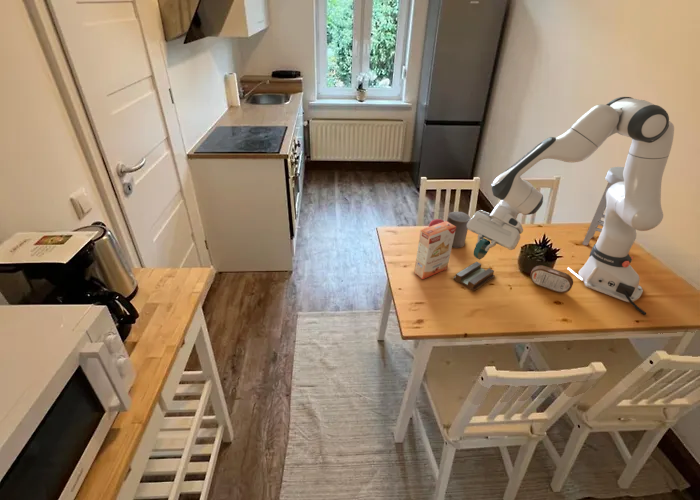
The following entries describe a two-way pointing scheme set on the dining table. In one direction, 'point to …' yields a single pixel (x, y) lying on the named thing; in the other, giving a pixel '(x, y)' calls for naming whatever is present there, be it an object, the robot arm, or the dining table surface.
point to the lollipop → (435, 222)
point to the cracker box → (434, 249)
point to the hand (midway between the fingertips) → (481, 248)
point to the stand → (474, 276)
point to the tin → (551, 279)
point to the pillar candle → (459, 227)
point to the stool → (603, 202)
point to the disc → (481, 248)
